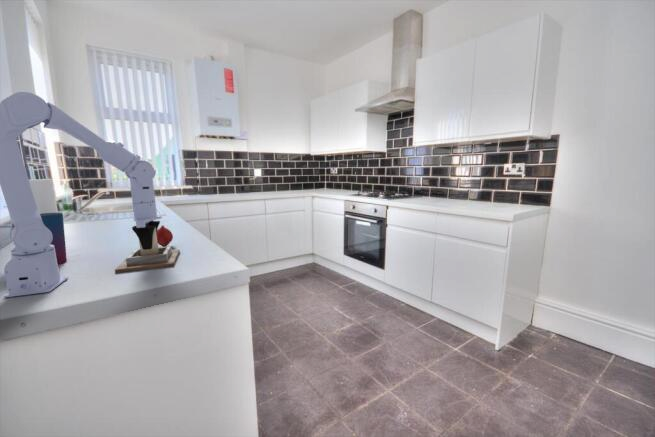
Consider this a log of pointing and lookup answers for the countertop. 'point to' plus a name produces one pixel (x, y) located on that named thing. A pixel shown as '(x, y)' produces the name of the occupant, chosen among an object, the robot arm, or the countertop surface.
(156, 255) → the holder
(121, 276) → the countertop surface
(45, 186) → the cylindrical container
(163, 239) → the red round fruit
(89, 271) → the countertop surface
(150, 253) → the roll
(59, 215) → the cup
